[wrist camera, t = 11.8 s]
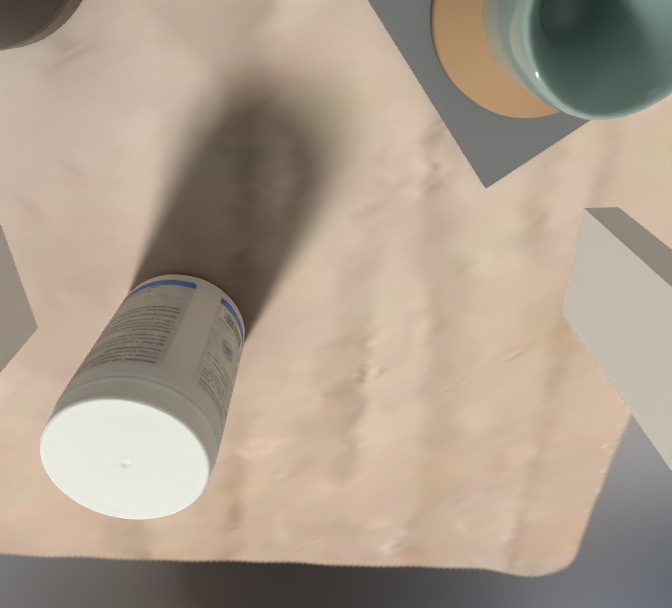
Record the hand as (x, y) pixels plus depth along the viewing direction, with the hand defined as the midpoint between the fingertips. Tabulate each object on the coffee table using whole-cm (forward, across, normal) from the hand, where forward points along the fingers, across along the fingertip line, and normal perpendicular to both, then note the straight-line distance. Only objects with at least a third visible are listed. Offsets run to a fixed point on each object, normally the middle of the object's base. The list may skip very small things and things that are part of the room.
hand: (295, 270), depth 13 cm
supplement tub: (+25, -11, -17) cm, 32 cm away
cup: (+22, +12, +4) cm, 25 cm away
